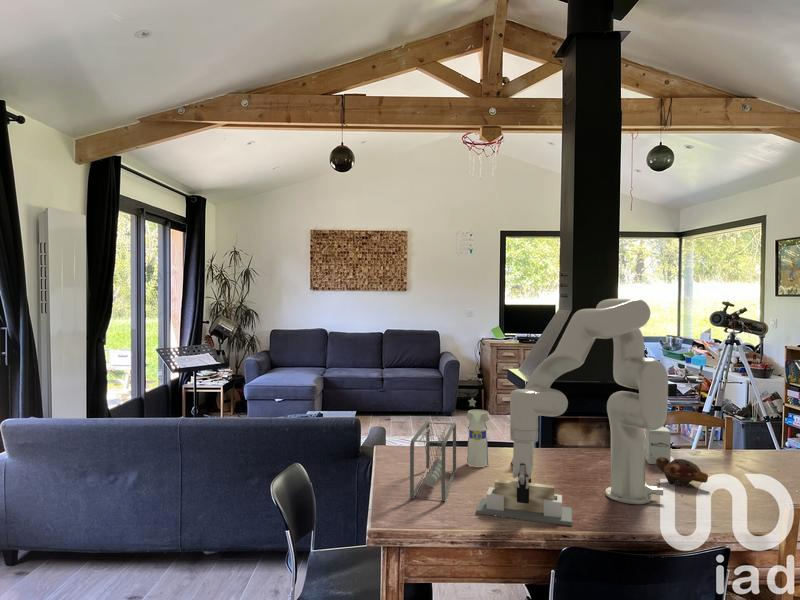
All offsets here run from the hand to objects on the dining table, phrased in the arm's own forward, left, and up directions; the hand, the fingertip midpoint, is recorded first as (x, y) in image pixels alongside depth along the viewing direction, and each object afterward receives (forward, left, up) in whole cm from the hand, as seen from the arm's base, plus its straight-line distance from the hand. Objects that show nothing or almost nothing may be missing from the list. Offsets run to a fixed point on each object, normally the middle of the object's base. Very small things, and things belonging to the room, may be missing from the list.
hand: (524, 496), depth 141 cm
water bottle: (+19, -40, -5) cm, 45 cm away
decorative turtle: (-47, -40, -5) cm, 62 cm away
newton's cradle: (+29, -14, -5) cm, 32 cm away
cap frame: (0, 0, -4) cm, 4 cm away
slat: (0, 0, -4) cm, 4 cm away
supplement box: (-44, -64, -5) cm, 78 cm away
